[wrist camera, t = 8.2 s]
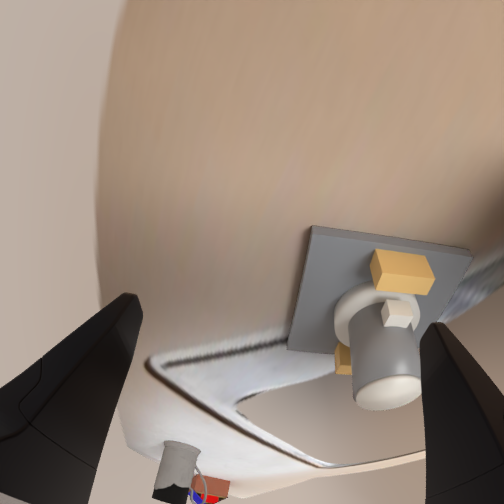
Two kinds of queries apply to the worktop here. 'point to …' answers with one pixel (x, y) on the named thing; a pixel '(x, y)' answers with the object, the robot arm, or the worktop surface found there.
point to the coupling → (384, 356)
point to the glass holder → (177, 473)
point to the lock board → (351, 269)
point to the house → (209, 489)
